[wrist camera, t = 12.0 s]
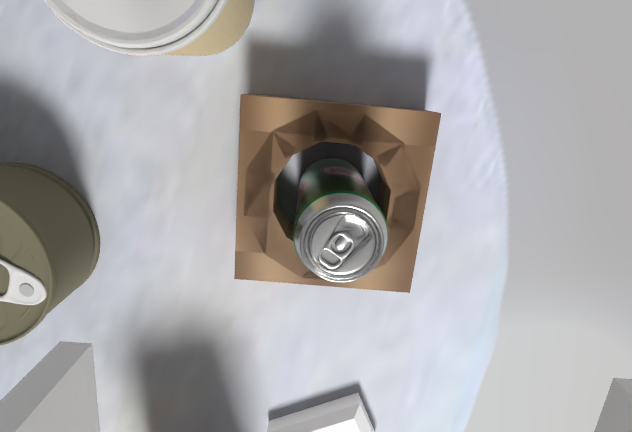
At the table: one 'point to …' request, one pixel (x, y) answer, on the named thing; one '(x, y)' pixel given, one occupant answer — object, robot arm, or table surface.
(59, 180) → the can
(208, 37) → the coffee cup
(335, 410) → the soap bar
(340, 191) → the soda can
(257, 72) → the table surface
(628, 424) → the robot arm
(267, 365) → the table surface
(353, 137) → the square wooden ring holder
